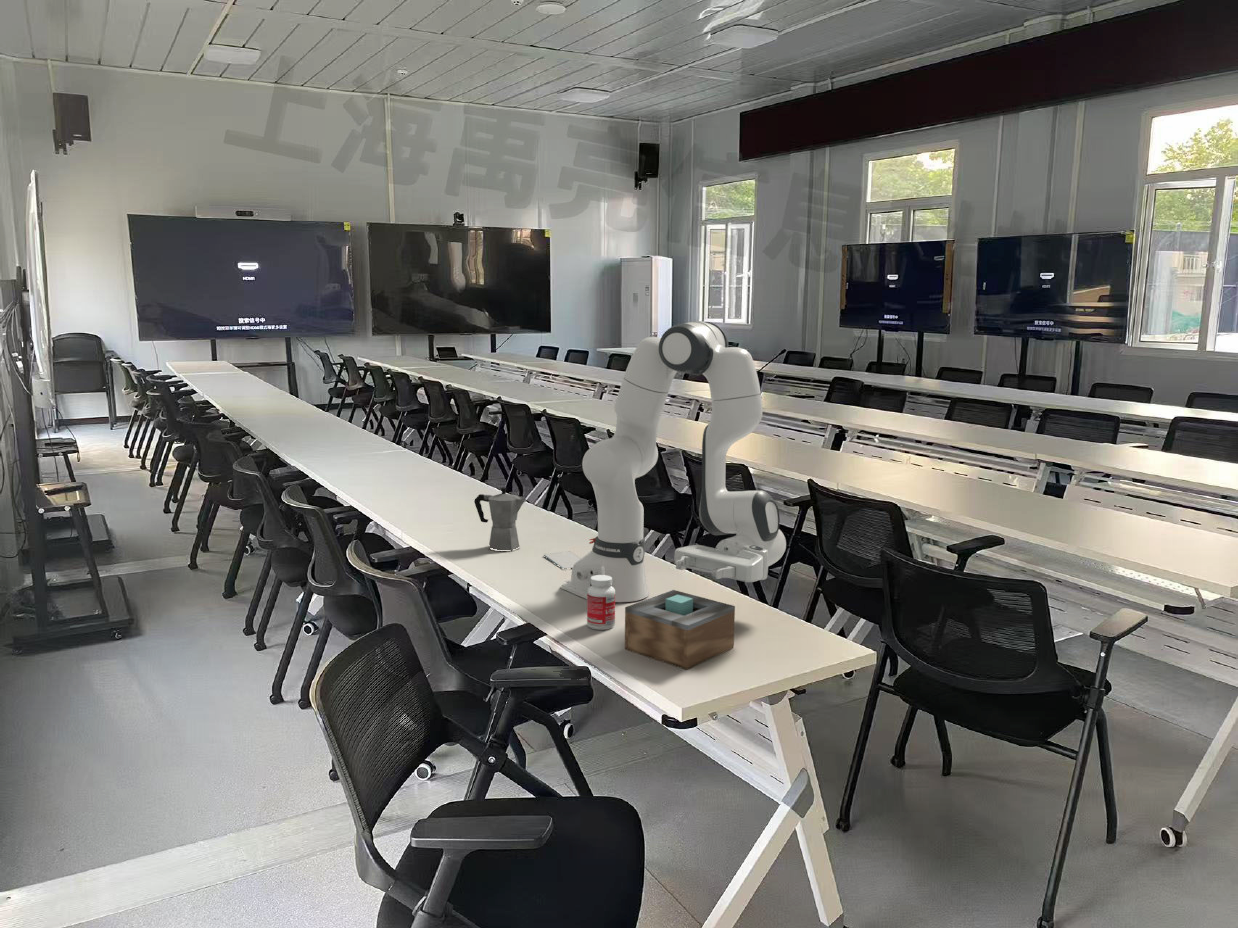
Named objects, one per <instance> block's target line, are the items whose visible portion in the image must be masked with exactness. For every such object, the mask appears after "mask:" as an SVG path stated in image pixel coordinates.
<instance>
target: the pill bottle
mask: <svg viewBox="0 0 1238 928" xmlns="http://www.w3.org/2000/svg"><path fill="white" fill-rule="evenodd" d="M591 585H592V586H591V587H589V589H588V591H587V599H586V602H587V603H586V605H587V607H586V608H587V609H586V624H587V627H588V628H590V629H592V630H597V631H607V630H610V629H612V628H614V627H615V625H616V602H615V589H614V588H613V587H612V586H611V585H612V577H610V576H607V575H595V576H592V577H591Z"/></svg>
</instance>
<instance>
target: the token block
mask: <svg viewBox="0 0 1238 928" xmlns="http://www.w3.org/2000/svg"><path fill="white" fill-rule="evenodd" d="M665 611H669V612H672V613H676V614H680V615H683V616H685V615H687V614H690V613H692V612H693V599H692V598H689V597H685V596H681V595H675V596H672V597H670V598H667V599H666V607H665Z"/></svg>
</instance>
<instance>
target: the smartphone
mask: <svg viewBox="0 0 1238 928" xmlns="http://www.w3.org/2000/svg"><path fill="white" fill-rule="evenodd" d="M544 556H545V557H547V558H548V559H549V560H551V561H552V562H553V563H555V564H556V565H559V566H560V569H561V568H564V569H567V568H573V566H574V564H575V563H576V562H577V561H578V560H580V559H581V558H582V557H579V556H578V555H576V554H575V553H574V552H571V551H561V552H560V551H559V552H553V553H546V554H545V553H544V554H543V557H544ZM545 557H544V558H545ZM548 559H547V560H548ZM549 560H548V561H549ZM552 562H551V563H552ZM553 563H552V564H553ZM555 564H554V565H555ZM556 565H555V566H556Z"/></svg>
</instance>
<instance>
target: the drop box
mask: <svg viewBox="0 0 1238 928" xmlns="http://www.w3.org/2000/svg"><path fill="white" fill-rule="evenodd" d="M675 595H681V596H685V597H689V598H692V599H693V612H692V613H690V614H687V615H685V616H683V615H680V614H676V613H672V612H669V611H665V607H666V599H667V598H670V597H672V596H675ZM624 614H625V615H624V650H625V651H626V650H627V651H630V652H632V653H635V654H639V655H642V656H644V657H647V658H651V659H653V660H656V661H658V662H662V663H665V664H668V665H672V666H675V667H676V668H677V667H678V668H681V669H683V670H687V671H688V670H689V669H692V668H694V667H696V666H697V665H700V664H702V663H704V662H706V661H709V660H711V659H713V658H715V657H717V656H720V655H721V654H723V653H725V652H727V651H730V650H731V649H734V648H735V646H734V645H735V621H736V620H735V619H736V616H735V615H736V605H733V604H729V603H724V602H721V601H717V600H713V599H709V598H706V597H702V596H698V595H693V594H691V593H688V592H687V593H686V592H684V591H679V590H675V589H672V590H669V591H666V592H664V593H661V594H658V595H656V596H652V597H650V598H648V599H644V600H642V601H637V603H636V602H635V603H633V604H630V605H627V606H625V609H624Z"/></svg>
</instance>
